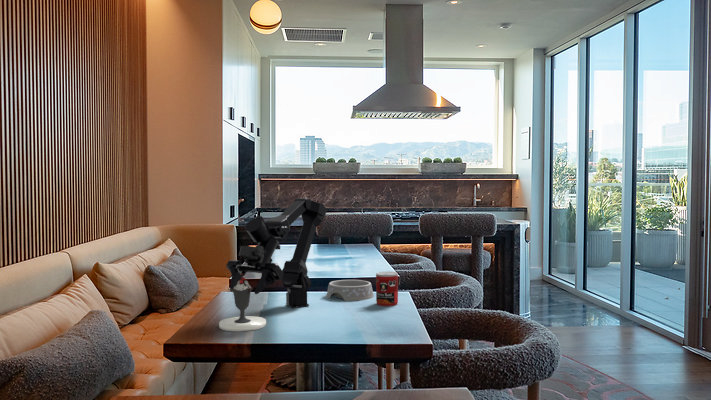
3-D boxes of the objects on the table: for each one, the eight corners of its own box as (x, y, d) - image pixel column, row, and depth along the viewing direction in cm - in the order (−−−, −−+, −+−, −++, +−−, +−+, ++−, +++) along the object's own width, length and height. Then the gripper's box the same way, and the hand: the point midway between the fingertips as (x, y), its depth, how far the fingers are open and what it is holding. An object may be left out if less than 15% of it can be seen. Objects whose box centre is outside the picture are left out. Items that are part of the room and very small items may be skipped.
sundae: (241, 325, 170) (240, 274, 169) (226, 321, 174) (226, 272, 174) (258, 320, 175) (257, 272, 175) (243, 317, 179) (243, 270, 179)
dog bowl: (344, 290, 231) (344, 277, 231) (382, 295, 220) (382, 281, 220) (317, 297, 217) (317, 283, 217) (356, 303, 206) (356, 288, 206)
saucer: (257, 318, 184) (257, 314, 184) (272, 327, 172) (272, 323, 171) (214, 323, 177) (214, 319, 177) (226, 333, 165) (225, 329, 165)
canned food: (373, 305, 202) (372, 274, 201) (380, 300, 209) (380, 270, 209) (393, 306, 199) (393, 275, 198) (400, 302, 206) (400, 272, 206)
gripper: (229, 234, 183) (206, 274, 173) (277, 237, 175) (256, 278, 165) (244, 256, 190) (223, 295, 181) (292, 259, 182) (272, 300, 172)
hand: (243, 292), depth 175 cm, fingers open, 9 cm apart
